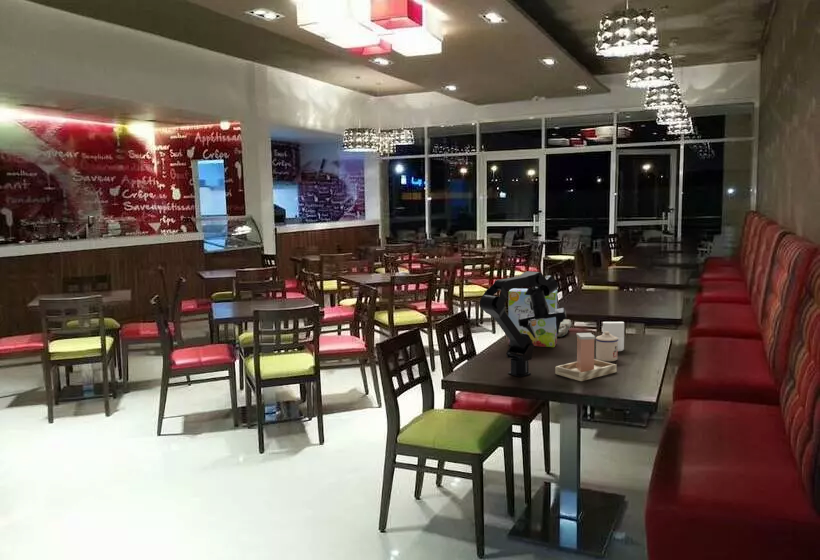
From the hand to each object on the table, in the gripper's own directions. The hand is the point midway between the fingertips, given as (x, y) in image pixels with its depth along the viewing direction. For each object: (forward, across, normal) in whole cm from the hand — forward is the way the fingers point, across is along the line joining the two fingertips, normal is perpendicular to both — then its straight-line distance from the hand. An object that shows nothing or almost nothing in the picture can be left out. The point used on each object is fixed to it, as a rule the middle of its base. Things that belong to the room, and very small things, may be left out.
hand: (546, 335), depth 271 cm
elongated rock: (+30, 0, -65) cm, 71 cm away
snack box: (+20, +11, -34) cm, 41 cm away
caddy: (+12, -13, +11) cm, 21 cm away
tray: (+13, -13, +11) cm, 21 cm away
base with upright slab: (+26, -24, -29) cm, 45 cm away
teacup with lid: (+21, -21, -12) cm, 32 cm away
